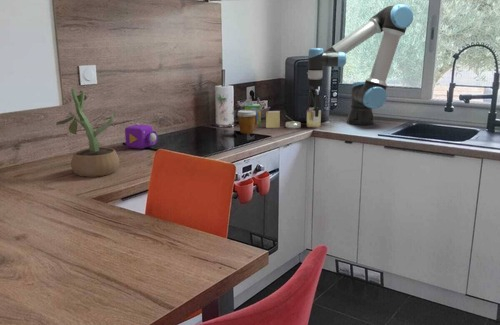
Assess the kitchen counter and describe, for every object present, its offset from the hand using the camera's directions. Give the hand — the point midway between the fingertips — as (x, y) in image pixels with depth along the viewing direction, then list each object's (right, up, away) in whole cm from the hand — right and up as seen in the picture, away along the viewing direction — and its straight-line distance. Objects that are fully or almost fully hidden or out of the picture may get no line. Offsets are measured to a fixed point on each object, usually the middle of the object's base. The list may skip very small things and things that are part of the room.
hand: (313, 121), depth 252 cm
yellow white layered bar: (0, -3, +1) cm, 3 cm away
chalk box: (-32, -2, +12) cm, 35 cm away
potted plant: (-93, -25, -76) cm, 123 cm away
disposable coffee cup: (-35, -8, -14) cm, 39 cm away
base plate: (-11, -4, 0) cm, 12 cm away
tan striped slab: (-22, -3, -2) cm, 22 cm away
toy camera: (-82, -15, -39) cm, 92 cm away
